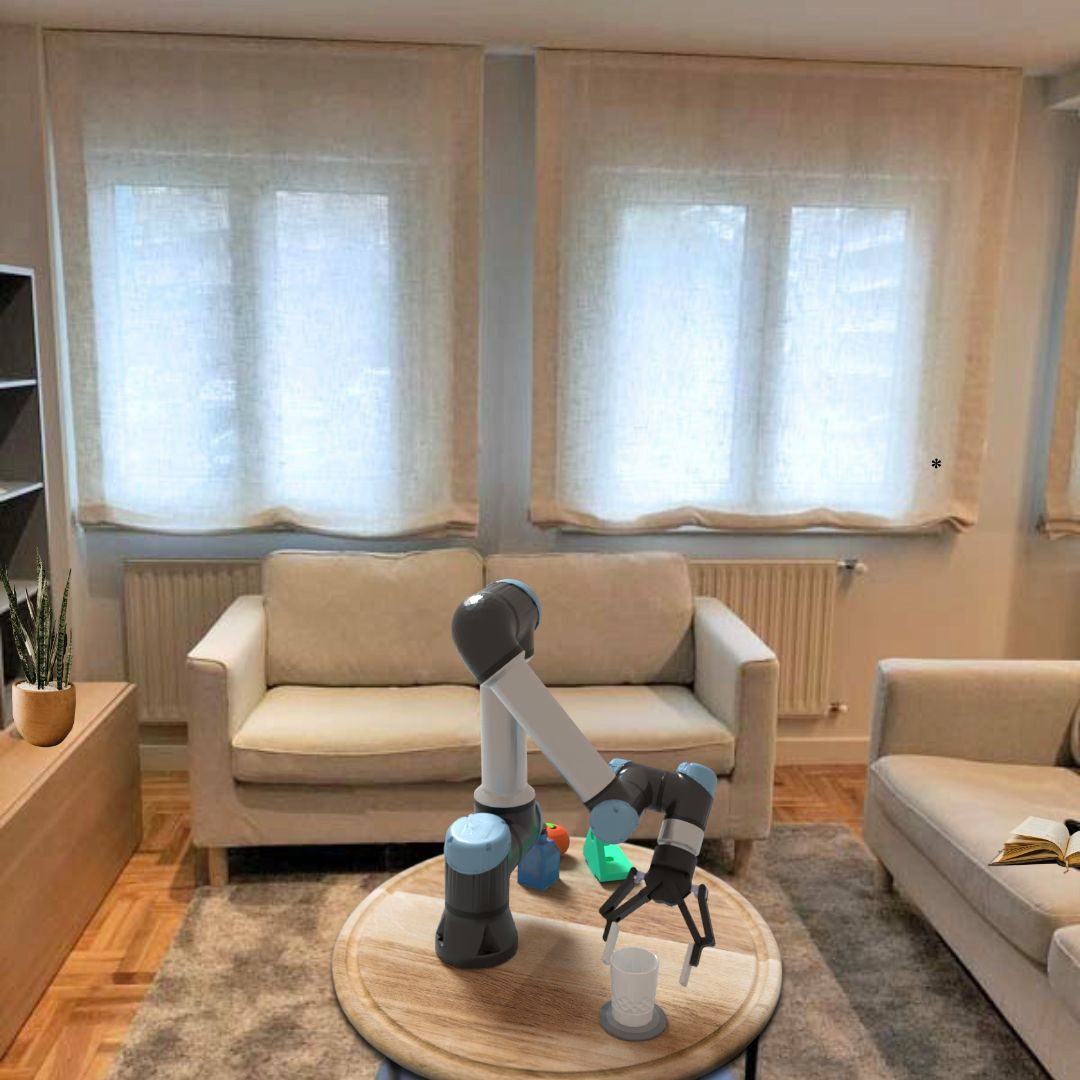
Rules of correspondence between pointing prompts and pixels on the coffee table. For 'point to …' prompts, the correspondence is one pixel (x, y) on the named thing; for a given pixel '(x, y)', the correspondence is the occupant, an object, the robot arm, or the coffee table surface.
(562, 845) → the clementine
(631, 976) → the white cup
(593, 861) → the camera mount
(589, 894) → the coffee table surface
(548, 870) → the perfume bottle
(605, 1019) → the coaster
